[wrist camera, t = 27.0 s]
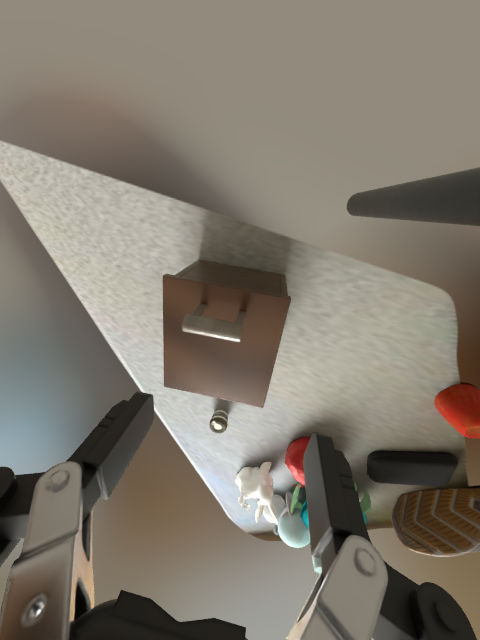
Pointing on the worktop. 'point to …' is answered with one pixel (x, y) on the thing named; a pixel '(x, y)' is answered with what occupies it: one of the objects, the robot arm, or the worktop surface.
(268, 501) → the rabbit figurine
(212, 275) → the chest
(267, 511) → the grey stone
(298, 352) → the worktop surface
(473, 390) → the red rounded piece
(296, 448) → the pomegranate
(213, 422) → the grey ridged cylinder
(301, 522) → the toy
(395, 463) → the carrying case
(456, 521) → the athletic shoe
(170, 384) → the lid
